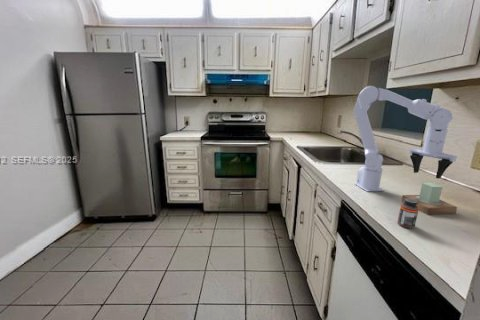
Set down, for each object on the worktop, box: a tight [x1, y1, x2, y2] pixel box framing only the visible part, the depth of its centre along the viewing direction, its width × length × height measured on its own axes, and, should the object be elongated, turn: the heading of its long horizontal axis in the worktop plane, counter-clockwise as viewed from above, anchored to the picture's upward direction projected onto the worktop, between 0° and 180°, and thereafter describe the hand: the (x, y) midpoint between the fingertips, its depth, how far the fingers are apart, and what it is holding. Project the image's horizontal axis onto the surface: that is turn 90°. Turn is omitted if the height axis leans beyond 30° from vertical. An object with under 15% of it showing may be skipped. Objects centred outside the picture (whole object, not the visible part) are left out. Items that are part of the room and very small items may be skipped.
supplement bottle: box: [397, 199, 419, 229], centre depth 70 cm, size 4×4×8 cm
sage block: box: [419, 182, 443, 203], centre depth 83 cm, size 4×4×6 cm
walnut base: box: [401, 194, 458, 216], centre depth 84 cm, size 11×11×3 cm
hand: (426, 175), depth 90 cm, fingers open, 7 cm apart
